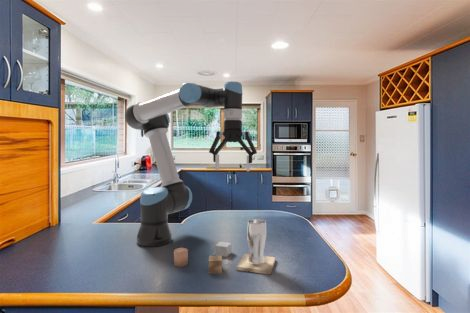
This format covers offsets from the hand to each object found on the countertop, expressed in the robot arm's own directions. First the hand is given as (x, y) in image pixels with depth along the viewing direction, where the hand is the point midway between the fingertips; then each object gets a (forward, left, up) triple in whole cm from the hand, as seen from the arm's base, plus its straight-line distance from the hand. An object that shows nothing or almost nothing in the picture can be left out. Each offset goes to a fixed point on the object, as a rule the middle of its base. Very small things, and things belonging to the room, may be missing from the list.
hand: (232, 170), depth 122 cm
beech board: (+14, -15, -33) cm, 39 cm away
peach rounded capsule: (-13, -22, -33) cm, 42 cm away
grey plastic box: (-1, -8, -33) cm, 34 cm away
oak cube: (+1, -23, -33) cm, 40 cm away
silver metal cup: (+14, -15, -32) cm, 38 cm away
